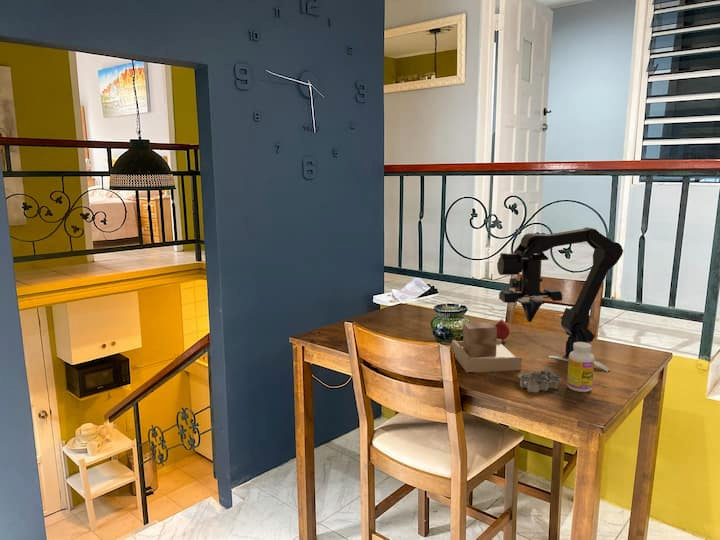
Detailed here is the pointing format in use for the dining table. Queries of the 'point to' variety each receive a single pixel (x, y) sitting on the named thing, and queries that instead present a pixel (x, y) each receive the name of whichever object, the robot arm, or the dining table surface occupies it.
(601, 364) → the fork
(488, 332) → the walnut block
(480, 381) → the dining table surface
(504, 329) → the onion
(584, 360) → the supplement bottle
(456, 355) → the tray
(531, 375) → the egg carton
